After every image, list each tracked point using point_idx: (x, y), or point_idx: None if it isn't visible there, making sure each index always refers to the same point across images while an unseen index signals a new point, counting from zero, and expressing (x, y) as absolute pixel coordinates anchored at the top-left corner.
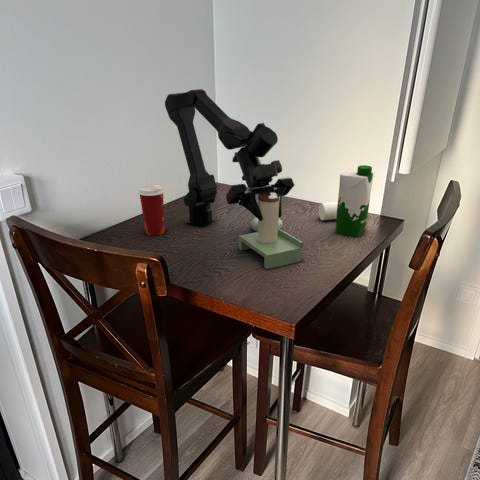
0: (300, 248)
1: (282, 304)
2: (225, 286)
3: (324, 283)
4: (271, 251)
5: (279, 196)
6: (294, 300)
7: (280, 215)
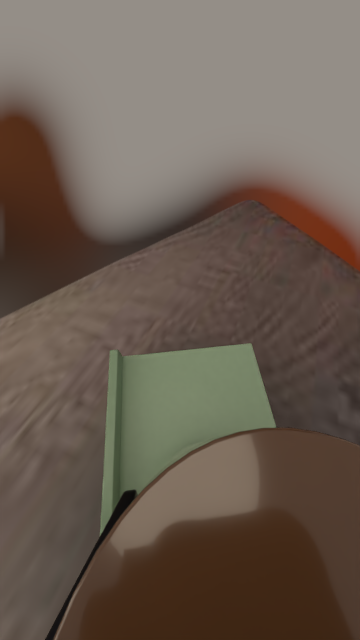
0: (125, 356)
1: (251, 232)
2: (353, 313)
3: (147, 262)
4: (229, 364)
5: (120, 525)
6: (228, 235)
7: (133, 491)
